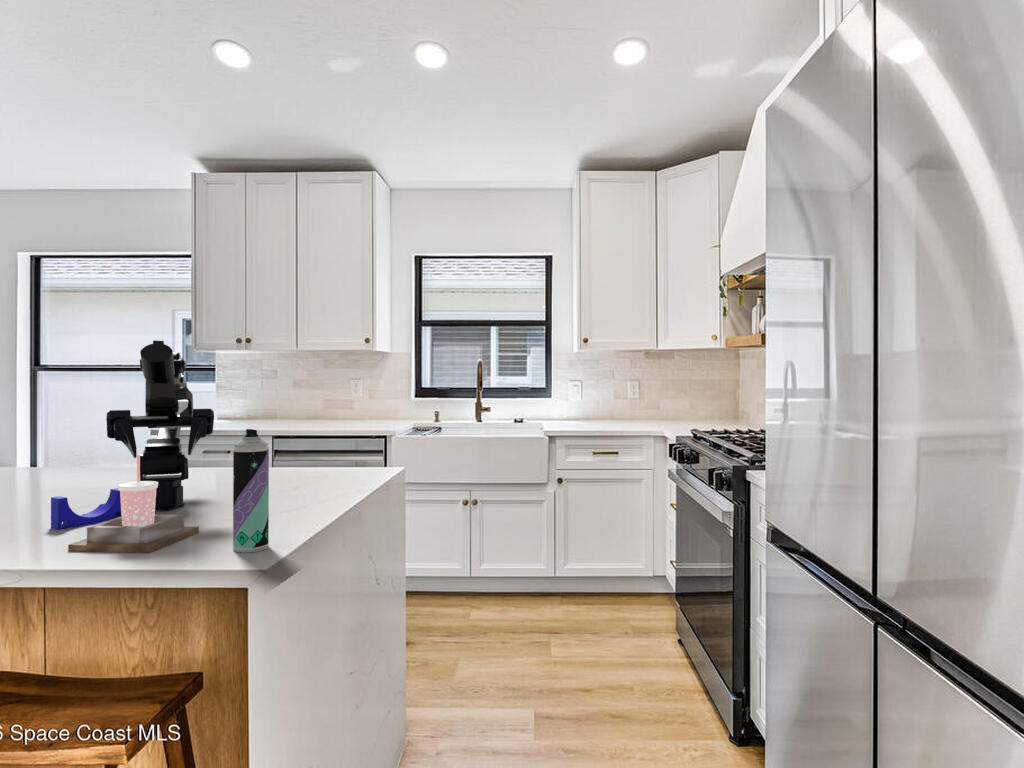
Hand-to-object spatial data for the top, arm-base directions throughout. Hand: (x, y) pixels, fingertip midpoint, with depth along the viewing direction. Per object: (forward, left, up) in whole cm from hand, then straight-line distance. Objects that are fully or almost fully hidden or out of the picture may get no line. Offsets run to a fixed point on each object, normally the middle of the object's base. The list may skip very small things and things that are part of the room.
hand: (163, 455), depth 120 cm
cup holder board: (+3, -12, -14) cm, 18 cm away
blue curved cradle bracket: (-16, +1, -14) cm, 22 cm away
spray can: (+25, -15, -14) cm, 32 cm away
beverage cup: (+3, -12, -13) cm, 18 cm away
